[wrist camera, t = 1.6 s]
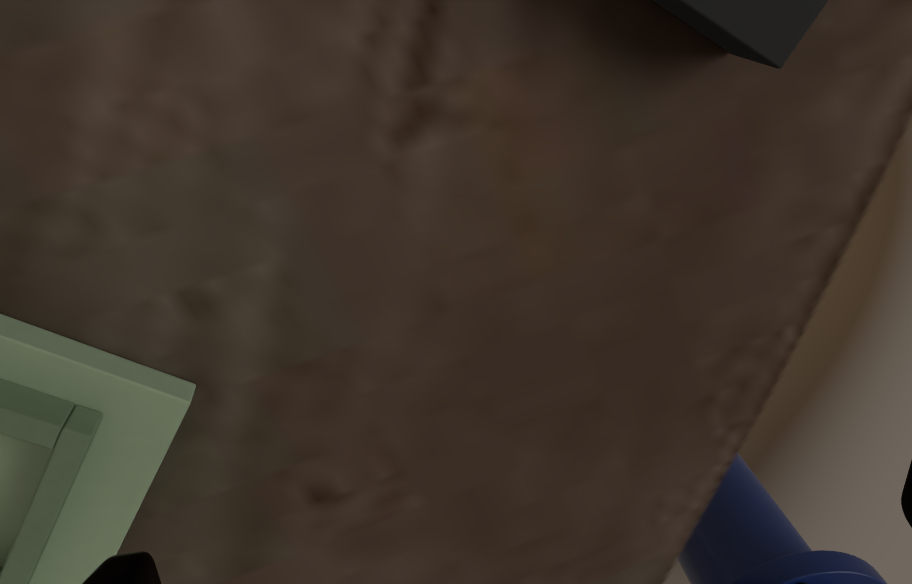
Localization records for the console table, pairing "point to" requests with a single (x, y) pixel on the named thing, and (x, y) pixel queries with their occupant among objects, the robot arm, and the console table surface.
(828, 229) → the console table surface
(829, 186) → the console table surface
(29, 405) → the base pad
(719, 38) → the black rectangular block
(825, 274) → the console table surface
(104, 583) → the robot arm
